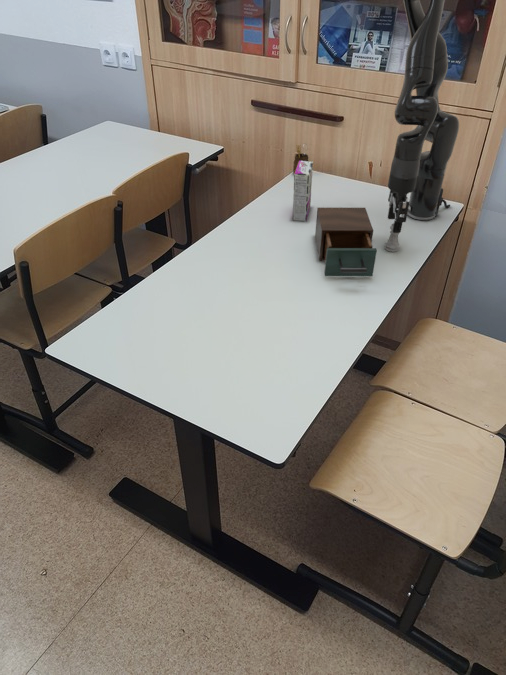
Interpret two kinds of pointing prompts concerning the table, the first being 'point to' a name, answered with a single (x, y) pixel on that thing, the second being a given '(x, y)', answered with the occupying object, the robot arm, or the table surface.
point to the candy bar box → (302, 190)
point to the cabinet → (340, 224)
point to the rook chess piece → (392, 241)
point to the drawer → (348, 254)
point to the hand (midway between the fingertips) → (393, 225)
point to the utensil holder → (299, 157)
